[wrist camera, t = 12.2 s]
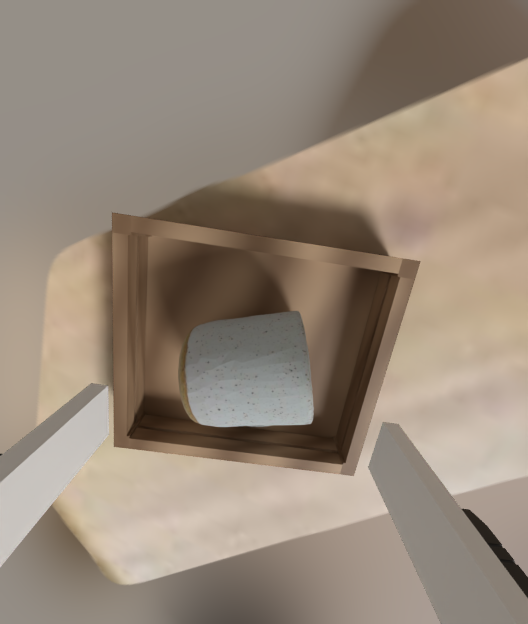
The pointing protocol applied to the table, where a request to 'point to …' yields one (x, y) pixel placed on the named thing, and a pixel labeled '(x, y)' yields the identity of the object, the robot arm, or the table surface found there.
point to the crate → (243, 303)
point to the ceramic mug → (247, 372)
